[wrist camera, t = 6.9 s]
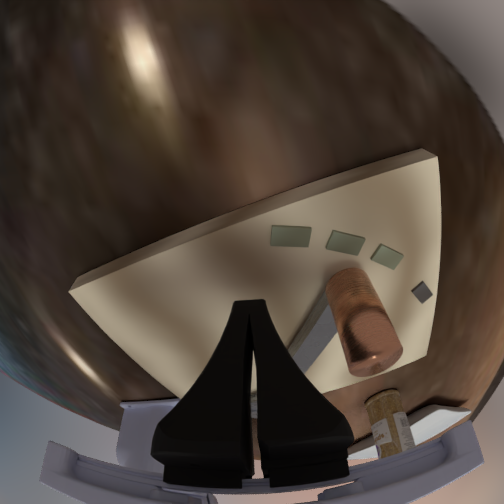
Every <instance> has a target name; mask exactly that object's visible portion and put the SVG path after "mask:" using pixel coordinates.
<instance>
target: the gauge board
mask: <svg viewBox="0 0 504 504" xmlns="http://www.w3.org/2000/svg"><path fill="white" fill-rule="evenodd" d="M440 248H441V195H440V178H439V166H438V157H437V156H435V155H434V154H432V153H430V152H428V151H426V150H424V149H422V148H421V149H418V150H414V151H410V152H407V153H403V154H400V155H397V156H393V157H390V158H386V159H383V160H380V161H377V162H373V163H370V164H367V165H364V166H360V167H357V168H354V169H351V170H348V171H345V172H342V173H339V174H336V175H332V176H329V177H326V178H323V179H320V180H317V181H315V182H312V183H309V184H306V185H303V186H300V187H297V188H294V189H291V190H289V191H286V192H283V193H280V194H277V195H275V196H272V197H269V198H266V199H263V200H261V201H258V202H255V203H253V204H250V205H247V206H245V207H242V208H239V209H237V210H234V211H231V212H229V213H226V214H224V215H221V216H218V217H216V218H213V219H211V220H208V221H206V222H203V223H201V224H198V225H196V226H193V227H191V228H188V229H186V230H183V231H181V232H178V233H176V234H174V235H171V236H169V237H166V238H164V239H162V240H159V241H157V242H155V243H152V244H150V245H148V246H145V247H143V248H141V249H138V250H136V251H134V252H131V253H129V254H127V255H125V256H122V257H120V258H118V259H116V260H113V261H111V262H109V263H107V264H105V265H102V266H100V267H98V268H96V269H94V270H91V271H89V272H87V273H85V274H83V275H81V276H79V277H77V279H76V280H75V282H74V284H73V285H72V287H71V288H70V290H69V293H70V294H71V295H72V296H73V298H74V299H75V300H76V301H77V302H78V303H79V305H80V306H81V307H82V308H83V309H84V310H85V311H86V312H87V314H88V315H89V316H90V317H91V318H92V319H93V320H94V321H95V322H96V323H97V324H98V325H99V326H100V327H101V328H102V330H103V331H104V332H105V333H106V334H107V335H108V336H109V337H110V338H111V339H112V340H113V341H114V342H115V343H116V344H117V345H118V346H120V347H121V348H122V349H123V350H124V351H125V352H126V353H127V354H128V355H129V356H130V357H131V358H132V359H133V360H134V361H136V362H137V363H138V364H139V365H140V366H141V367H142V368H143V369H145V370H146V371H147V372H148V373H149V374H150V375H152V376H153V377H154V378H155V379H156V380H157V381H159V382H160V383H161V384H162V385H164V386H165V387H166V388H167V389H169V390H170V391H171V392H172V393H174V394H175V395H176V396H177V397H179V398H180V399H182V397H183V396H184V395H185V394H186V393H187V392H188V390H189V389H190V388H191V387H192V385H193V384H194V383H195V381H196V380H197V378H198V377H199V375H200V374H201V373H202V371H203V369H204V368H205V366H206V365H207V363H208V361H209V360H210V358H211V356H212V354H213V352H214V350H215V348H216V347H217V345H218V343H219V341H220V338H221V336H222V334H223V331H224V329H225V327H226V324H227V322H228V319H229V316H230V313H231V309H232V305H233V302H234V301H238V300H254V299H264V300H266V305H267V308H268V312H269V314H270V317H271V319H272V322H273V324H274V326H275V328H276V330H277V332H278V334H279V336H280V338H281V340H282V342H283V344H284V345H285V347H286V349H287V350H288V349H289V347H290V346H291V344H292V342H293V341H294V339H295V338H296V336H297V335H298V333H299V332H300V330H301V328H302V327H303V325H304V324H305V322H306V320H307V319H308V317H309V316H310V314H311V312H312V311H313V309H314V307H315V306H316V304H317V302H318V301H319V299H320V297H321V296H322V294H323V292H324V290H325V287H326V284H327V282H328V281H329V279H330V278H331V277H332V276H333V275H334V274H336V273H337V272H339V271H341V270H343V269H347V268H359V269H362V270H364V271H365V272H366V273H367V275H368V277H369V279H370V280H371V282H372V284H373V286H374V288H375V290H376V292H377V294H378V296H379V298H380V300H381V302H382V304H383V306H384V308H385V310H386V312H387V314H388V316H389V318H390V321H391V323H392V325H393V327H394V329H395V331H396V333H397V336H398V338H399V340H400V342H401V345H402V347H403V354H402V356H401V358H400V359H399V360H398V361H397V362H396V363H395V364H394V365H393V366H391V367H390V368H388V369H387V370H385V371H383V372H381V373H378V374H375V375H372V376H367V377H356V376H353V375H351V374H350V373H349V370H348V366H347V363H346V359H345V355H344V352H343V349H342V345H341V342H340V338H339V335H338V332H337V333H336V334H335V336H334V337H333V338H332V340H331V341H330V342H329V343H328V345H327V346H326V347H325V349H324V350H323V351H322V353H321V354H320V355H319V356H318V358H317V359H316V360H315V361H314V363H313V364H312V365H311V366H310V368H309V369H308V370H307V371H306V372H305V374H304V375H305V376H306V377H307V378H308V379H309V381H310V382H311V383H312V384H313V385H314V386H315V387H316V389H317V390H318V391H319V392H320V393H324V392H328V391H332V390H335V389H338V388H342V387H345V386H348V385H351V384H354V383H357V382H360V381H363V380H366V379H369V378H372V377H375V376H377V375H380V374H383V373H386V372H388V371H391V370H393V369H396V368H398V367H401V366H403V365H406V364H408V363H410V362H413V361H415V360H417V359H420V358H422V357H424V356H426V354H427V349H428V344H429V339H430V334H431V329H432V323H433V317H434V311H435V304H436V296H437V287H438V277H439V265H440ZM253 394H257V381H256V365H255V358H254V351H253V365H252V382H251V395H253Z"/></svg>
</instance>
